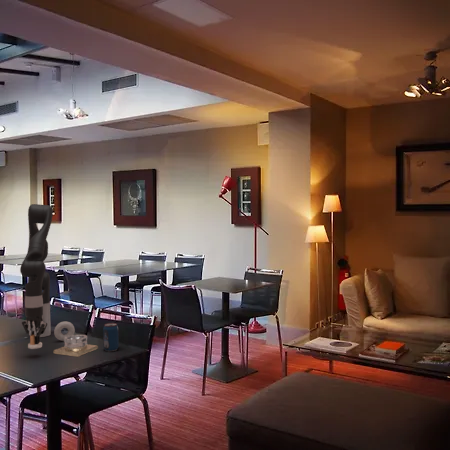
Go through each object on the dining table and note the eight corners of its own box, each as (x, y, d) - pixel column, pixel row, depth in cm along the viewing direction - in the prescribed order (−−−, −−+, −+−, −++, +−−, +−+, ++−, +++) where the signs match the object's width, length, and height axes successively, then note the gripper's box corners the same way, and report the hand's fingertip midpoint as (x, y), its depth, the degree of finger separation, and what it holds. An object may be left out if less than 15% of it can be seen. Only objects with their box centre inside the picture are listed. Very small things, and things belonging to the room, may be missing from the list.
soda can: (119, 347, 243) (119, 322, 243) (117, 351, 236) (116, 325, 236) (105, 347, 243) (104, 322, 243) (102, 351, 236) (101, 326, 236)
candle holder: (53, 353, 235) (53, 339, 234) (74, 346, 247) (73, 332, 247) (78, 356, 229) (77, 342, 229) (97, 348, 242) (97, 335, 242)
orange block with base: (25, 348, 228) (24, 335, 228) (35, 344, 234) (34, 332, 234) (35, 349, 226) (34, 337, 226) (45, 345, 231) (44, 333, 231)
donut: (54, 343, 254) (54, 323, 253) (54, 341, 257) (53, 321, 257) (75, 340, 258) (75, 321, 257) (74, 339, 261) (74, 319, 261)
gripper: (51, 305, 230) (52, 343, 230) (28, 302, 235) (29, 340, 236) (39, 308, 223) (40, 347, 224) (16, 305, 228) (17, 344, 229)
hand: (34, 343), depth 230 cm, fingers closed on orange block with base
